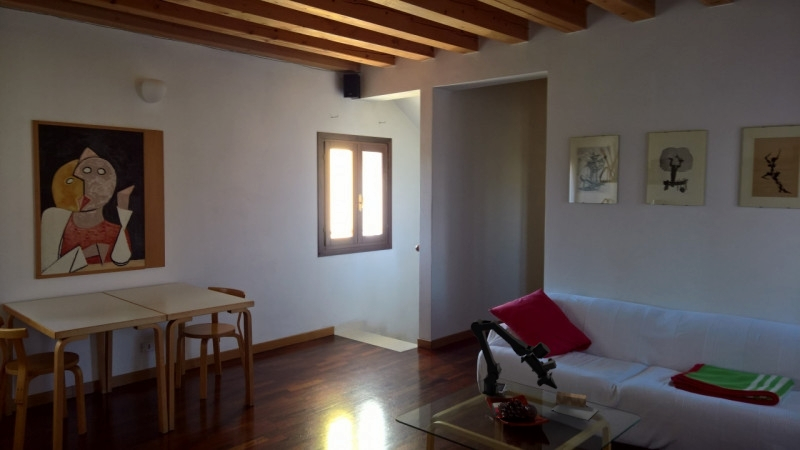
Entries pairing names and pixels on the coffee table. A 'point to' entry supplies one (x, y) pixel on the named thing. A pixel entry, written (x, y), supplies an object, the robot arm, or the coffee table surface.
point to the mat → (575, 411)
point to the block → (571, 399)
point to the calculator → (495, 408)
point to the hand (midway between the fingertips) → (556, 388)
